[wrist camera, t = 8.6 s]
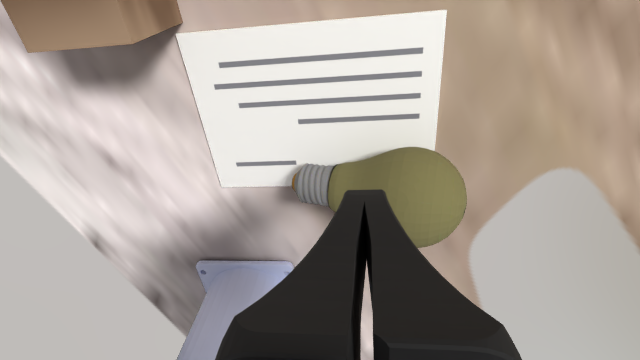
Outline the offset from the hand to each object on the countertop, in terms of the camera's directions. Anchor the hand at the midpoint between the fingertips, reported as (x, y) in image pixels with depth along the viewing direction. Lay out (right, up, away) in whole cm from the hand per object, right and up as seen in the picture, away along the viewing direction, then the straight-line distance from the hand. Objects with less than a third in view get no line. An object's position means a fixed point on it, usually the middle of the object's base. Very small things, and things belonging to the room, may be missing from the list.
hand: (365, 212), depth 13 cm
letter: (-2, +5, +8) cm, 10 cm away
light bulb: (-3, +1, +9) cm, 10 cm away
